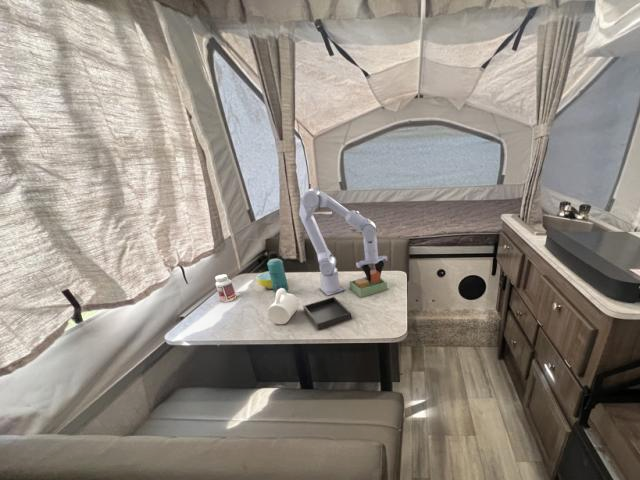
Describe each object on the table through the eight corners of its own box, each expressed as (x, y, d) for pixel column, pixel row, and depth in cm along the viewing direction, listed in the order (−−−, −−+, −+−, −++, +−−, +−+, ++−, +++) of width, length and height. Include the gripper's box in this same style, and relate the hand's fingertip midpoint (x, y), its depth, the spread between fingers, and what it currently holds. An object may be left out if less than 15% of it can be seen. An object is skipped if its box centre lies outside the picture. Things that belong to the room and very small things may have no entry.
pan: (304, 311, 126) (303, 305, 125) (334, 301, 132) (334, 296, 131) (318, 330, 113) (317, 324, 112) (351, 318, 119) (351, 313, 118)
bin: (350, 288, 143) (349, 281, 141) (375, 281, 149) (375, 274, 147) (361, 297, 134) (360, 290, 133) (387, 289, 140) (386, 282, 139)
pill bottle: (237, 294, 143) (229, 272, 138) (235, 300, 138) (228, 277, 132) (222, 297, 141) (214, 275, 136) (220, 303, 136) (212, 280, 131)
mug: (270, 324, 118) (262, 296, 112) (281, 310, 127) (274, 284, 121) (291, 324, 117) (284, 296, 111) (301, 311, 126) (295, 284, 121)
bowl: (289, 284, 150) (286, 272, 147) (269, 294, 142) (266, 281, 139) (274, 280, 156) (271, 268, 153) (254, 289, 147) (250, 277, 144)
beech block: (356, 289, 141) (355, 280, 138) (365, 286, 143) (364, 278, 140) (360, 292, 137) (359, 283, 135) (369, 290, 139) (368, 281, 137)
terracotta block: (367, 280, 142) (366, 271, 140) (376, 278, 144) (375, 269, 142) (372, 283, 139) (371, 274, 137) (380, 281, 141) (380, 272, 139)
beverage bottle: (277, 292, 143) (266, 250, 134) (291, 291, 144) (282, 249, 134) (273, 298, 137) (261, 255, 128) (288, 297, 138) (278, 254, 129)
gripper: (359, 256, 128) (363, 285, 135) (390, 248, 135) (392, 277, 141) (352, 251, 134) (356, 280, 140) (382, 244, 140) (384, 272, 147)
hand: (373, 278), depth 141 cm, fingers closed on terracotta block, 4 cm apart
